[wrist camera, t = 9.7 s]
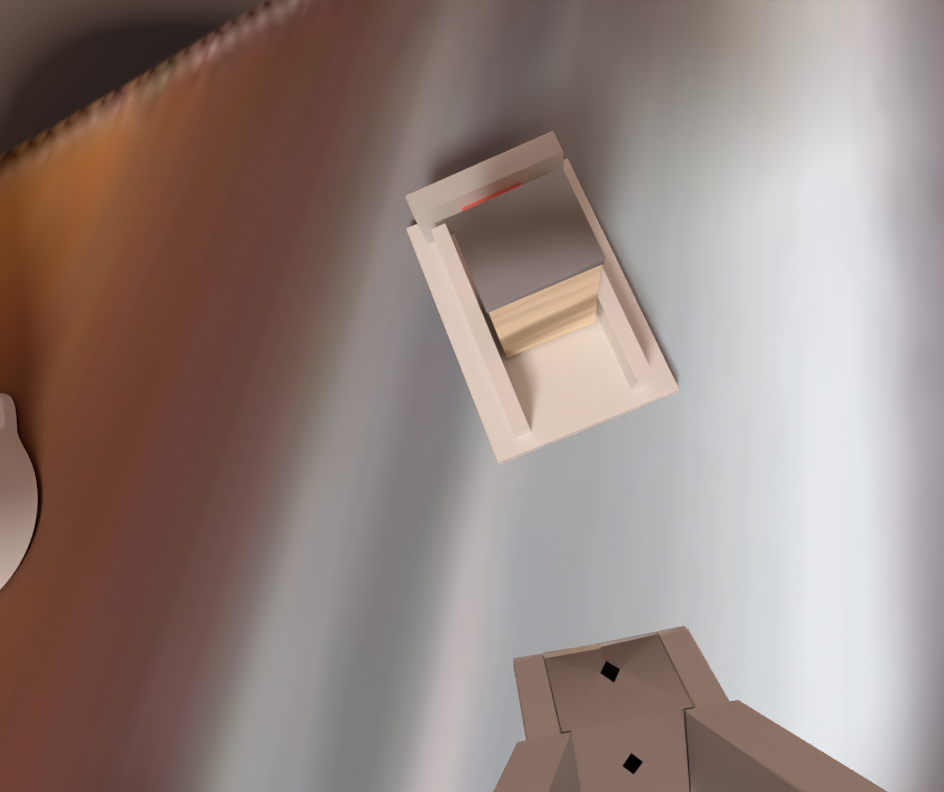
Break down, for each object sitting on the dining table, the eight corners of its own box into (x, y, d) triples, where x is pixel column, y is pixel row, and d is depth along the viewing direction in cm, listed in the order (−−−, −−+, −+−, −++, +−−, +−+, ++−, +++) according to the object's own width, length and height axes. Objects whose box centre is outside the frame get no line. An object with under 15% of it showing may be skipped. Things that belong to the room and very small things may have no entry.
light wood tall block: (596, 323, 39) (605, 256, 29) (506, 360, 40) (484, 307, 30) (564, 253, 41) (562, 167, 31) (477, 290, 41) (447, 217, 31)
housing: (676, 392, 39) (691, 374, 34) (500, 464, 40) (490, 456, 35) (567, 165, 43) (566, 121, 38) (409, 235, 44) (390, 199, 39)
